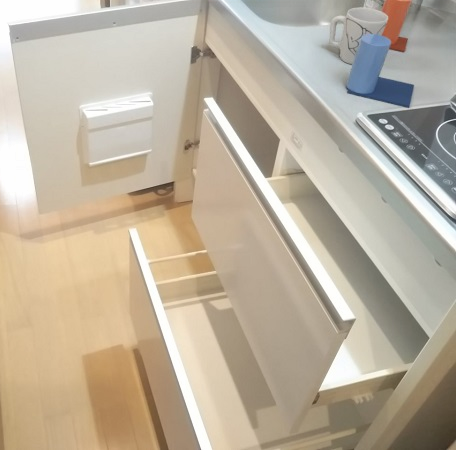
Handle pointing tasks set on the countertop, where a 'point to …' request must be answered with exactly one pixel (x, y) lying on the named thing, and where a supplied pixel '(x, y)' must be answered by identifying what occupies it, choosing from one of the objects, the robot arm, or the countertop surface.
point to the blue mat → (390, 92)
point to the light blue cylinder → (368, 63)
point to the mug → (356, 29)
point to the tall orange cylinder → (395, 17)
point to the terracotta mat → (399, 44)
